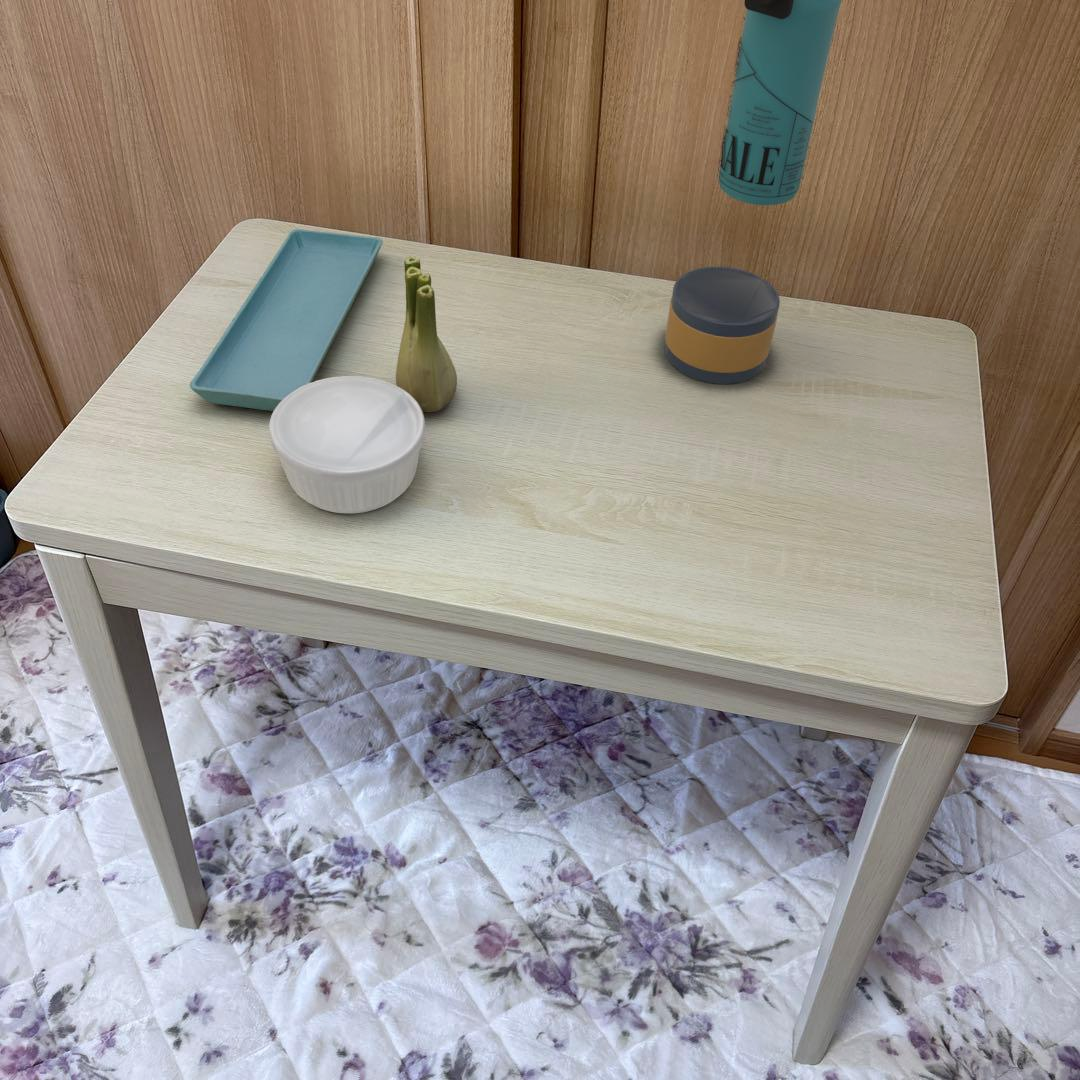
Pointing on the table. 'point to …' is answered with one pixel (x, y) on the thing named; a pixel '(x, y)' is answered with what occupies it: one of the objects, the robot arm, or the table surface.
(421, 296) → the fennel bulb
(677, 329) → the tin can
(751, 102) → the beverage bottle
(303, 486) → the ramekin
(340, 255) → the shallow long dish
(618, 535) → the table surface
